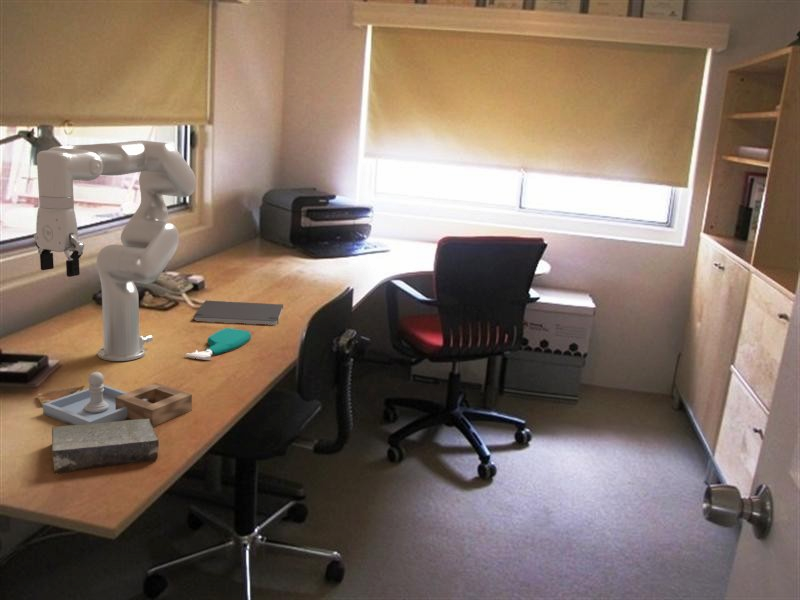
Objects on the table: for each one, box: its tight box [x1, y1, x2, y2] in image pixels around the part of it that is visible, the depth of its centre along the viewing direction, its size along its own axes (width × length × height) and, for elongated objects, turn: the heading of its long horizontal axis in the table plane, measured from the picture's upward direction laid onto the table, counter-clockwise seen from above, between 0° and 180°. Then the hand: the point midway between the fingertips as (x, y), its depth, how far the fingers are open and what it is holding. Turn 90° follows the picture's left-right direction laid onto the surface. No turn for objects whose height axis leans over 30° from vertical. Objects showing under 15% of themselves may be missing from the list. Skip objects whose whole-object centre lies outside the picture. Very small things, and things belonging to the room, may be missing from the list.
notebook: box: [193, 300, 284, 326], centre depth 251 cm, size 22×2×28 cm
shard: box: [36, 385, 86, 406], centre depth 172 cm, size 11×8×2 cm
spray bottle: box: [185, 327, 252, 361], centre depth 216 cm, size 3×11×24 cm
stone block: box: [51, 418, 160, 474], centre depth 147 cm, size 14×20×5 cm
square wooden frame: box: [115, 382, 193, 428], centre depth 168 cm, size 12×12×4 cm
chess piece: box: [84, 371, 109, 413], centre depth 165 cm, size 5×5×9 cm
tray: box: [42, 383, 148, 425], centre depth 166 cm, size 16×16×2 cm
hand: (60, 272), depth 176 cm, fingers open, 9 cm apart
